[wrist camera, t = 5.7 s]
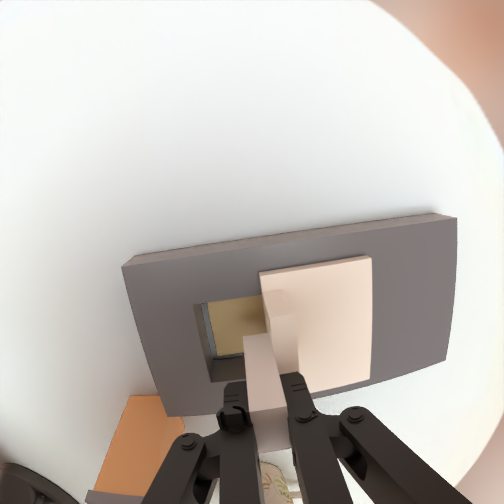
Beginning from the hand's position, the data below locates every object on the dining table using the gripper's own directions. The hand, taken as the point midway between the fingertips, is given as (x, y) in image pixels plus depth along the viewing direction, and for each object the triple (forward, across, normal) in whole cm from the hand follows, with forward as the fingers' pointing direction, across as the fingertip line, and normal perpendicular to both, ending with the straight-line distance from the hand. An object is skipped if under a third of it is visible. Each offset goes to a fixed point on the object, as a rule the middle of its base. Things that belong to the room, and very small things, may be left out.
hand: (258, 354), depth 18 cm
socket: (+5, +4, 0) cm, 6 cm away
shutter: (+2, +4, 0) cm, 5 cm away
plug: (+5, -10, -8) cm, 14 cm away
